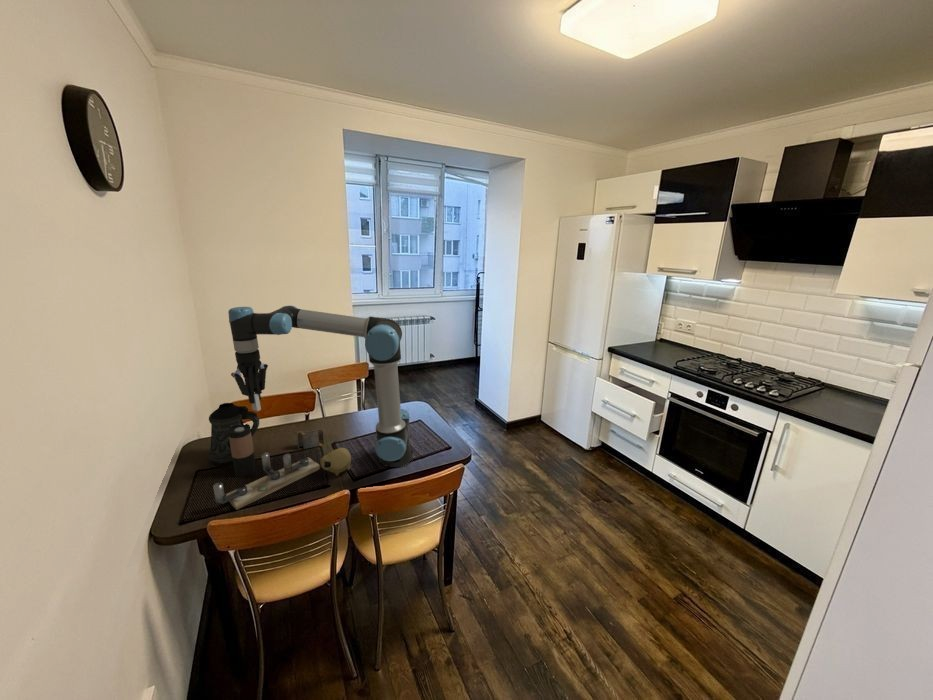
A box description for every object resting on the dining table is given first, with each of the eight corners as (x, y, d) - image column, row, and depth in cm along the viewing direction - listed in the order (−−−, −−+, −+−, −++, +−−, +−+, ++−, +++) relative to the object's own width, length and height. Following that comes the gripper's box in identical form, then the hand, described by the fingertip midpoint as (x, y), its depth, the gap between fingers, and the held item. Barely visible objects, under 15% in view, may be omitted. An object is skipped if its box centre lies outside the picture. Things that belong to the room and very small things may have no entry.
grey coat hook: (306, 461, 154) (304, 445, 151) (310, 463, 152) (308, 447, 150) (283, 472, 146) (281, 455, 144) (287, 475, 144) (285, 458, 142)
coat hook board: (319, 469, 153) (319, 463, 152) (236, 509, 128) (235, 503, 127) (308, 460, 158) (307, 455, 157) (226, 498, 133) (225, 492, 133)
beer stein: (204, 456, 158) (194, 404, 151) (253, 440, 172) (246, 392, 164) (215, 473, 147) (205, 418, 140) (266, 455, 161) (259, 403, 154)
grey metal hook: (281, 477, 143) (279, 460, 140) (273, 481, 140) (271, 464, 138) (269, 467, 148) (267, 451, 146) (261, 471, 146) (259, 454, 144)
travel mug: (241, 479, 144) (233, 434, 138) (231, 472, 148) (223, 429, 142) (260, 470, 150) (254, 427, 145) (250, 463, 154) (243, 421, 148)
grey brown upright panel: (298, 451, 166) (296, 432, 163) (298, 447, 168) (296, 428, 165) (324, 446, 170) (323, 427, 167) (324, 443, 173) (322, 424, 170)
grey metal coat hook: (245, 489, 135) (242, 471, 133) (249, 492, 134) (246, 475, 131) (214, 503, 127) (211, 485, 125) (218, 507, 126) (215, 488, 124)
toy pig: (318, 470, 152) (316, 448, 149) (347, 461, 158) (346, 440, 155) (325, 483, 144) (323, 459, 141) (354, 473, 151) (353, 451, 148)
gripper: (256, 344, 137) (265, 401, 144) (222, 353, 126) (233, 414, 133) (270, 347, 134) (278, 405, 141) (236, 356, 123) (246, 419, 130)
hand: (256, 409), depth 137 cm, fingers closed
